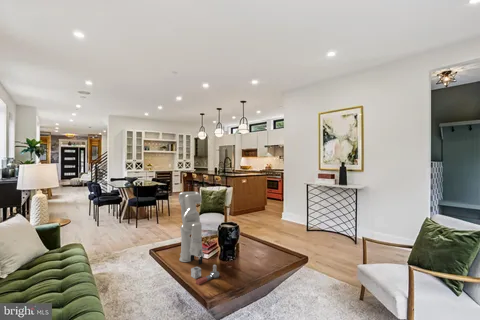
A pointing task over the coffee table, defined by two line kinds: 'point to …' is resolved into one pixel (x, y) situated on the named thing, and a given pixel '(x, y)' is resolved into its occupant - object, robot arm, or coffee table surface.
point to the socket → (195, 272)
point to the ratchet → (212, 275)
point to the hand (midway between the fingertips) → (196, 262)
